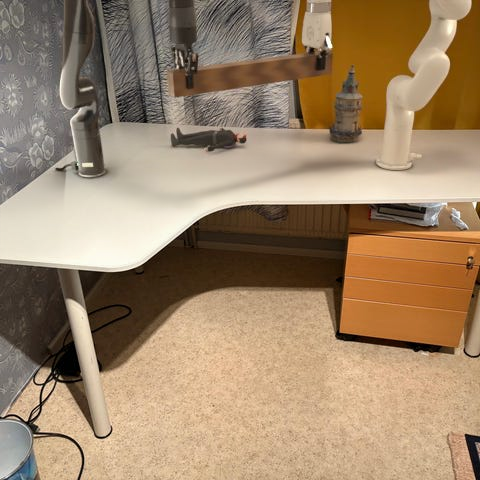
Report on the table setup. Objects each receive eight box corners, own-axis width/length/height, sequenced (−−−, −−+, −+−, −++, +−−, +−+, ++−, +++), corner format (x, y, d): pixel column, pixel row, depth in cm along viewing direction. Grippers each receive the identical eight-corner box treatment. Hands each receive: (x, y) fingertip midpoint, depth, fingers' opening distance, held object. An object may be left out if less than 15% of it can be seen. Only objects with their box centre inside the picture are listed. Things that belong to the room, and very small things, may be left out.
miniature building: (330, 144, 216) (335, 67, 201) (326, 133, 228) (331, 60, 213) (363, 144, 215) (371, 67, 200) (358, 133, 227) (365, 60, 212)
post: (323, 71, 180) (324, 50, 176) (331, 74, 176) (332, 53, 173) (168, 94, 156) (166, 70, 153) (174, 97, 153) (172, 73, 149)
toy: (183, 121, 228) (252, 121, 222) (184, 135, 231) (252, 135, 225) (163, 141, 206) (239, 141, 200) (165, 156, 209) (240, 157, 203)
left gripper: (160, 22, 151) (165, 83, 159) (180, 28, 140) (184, 94, 148) (184, 20, 154) (188, 80, 163) (206, 26, 143) (208, 90, 152)
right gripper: (293, 6, 171) (291, 65, 180) (325, 11, 158) (322, 74, 167) (312, 5, 174) (309, 62, 183) (345, 9, 161) (341, 71, 170)
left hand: (186, 86), depth 155 cm, fingers closed on post, 4 cm apart
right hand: (315, 68), depth 175 cm, fingers closed on post, 4 cm apart
